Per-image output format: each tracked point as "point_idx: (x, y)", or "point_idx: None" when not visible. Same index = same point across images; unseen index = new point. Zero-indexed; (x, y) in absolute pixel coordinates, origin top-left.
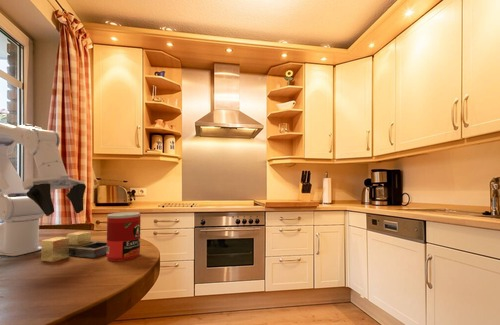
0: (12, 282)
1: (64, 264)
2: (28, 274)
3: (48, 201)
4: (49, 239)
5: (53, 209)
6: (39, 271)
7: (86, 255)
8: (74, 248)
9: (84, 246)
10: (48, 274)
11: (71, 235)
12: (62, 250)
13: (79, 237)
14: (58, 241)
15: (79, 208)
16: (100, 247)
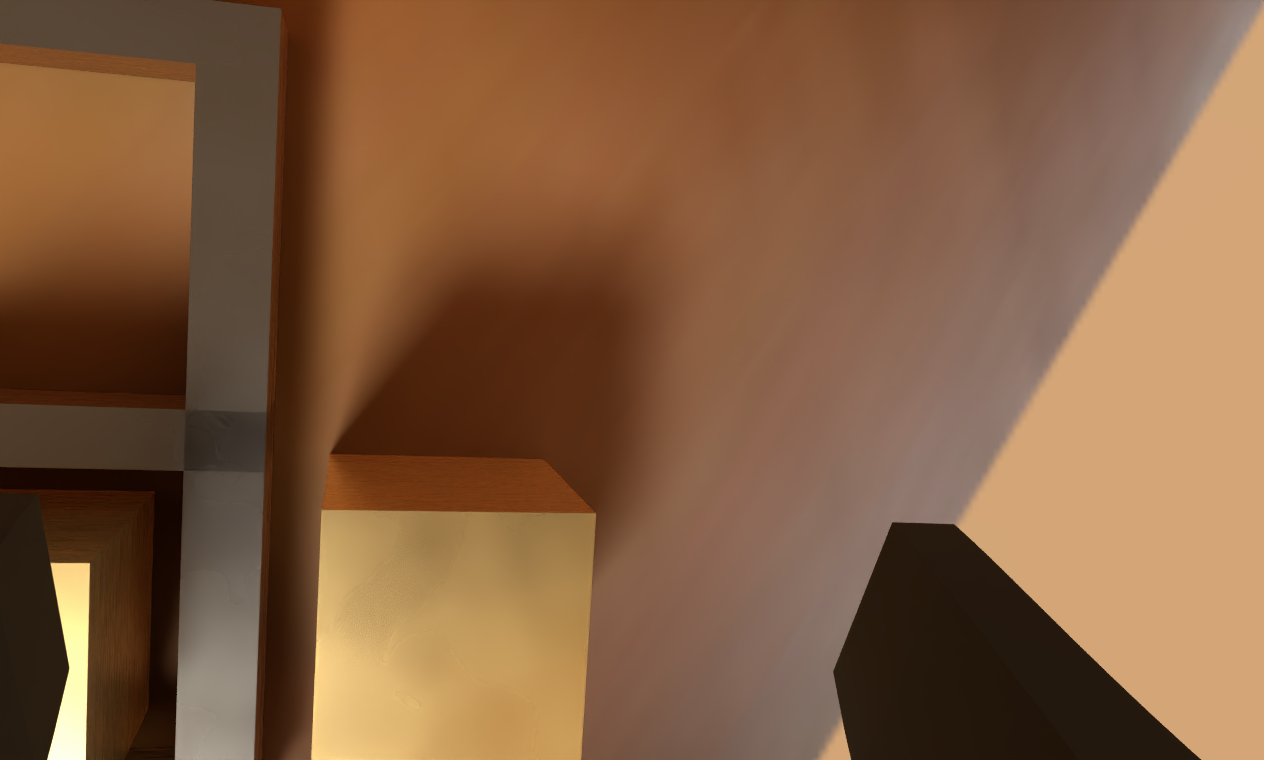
0: (1091, 205)
1: (591, 206)
2: (918, 280)
3: (1160, 728)
4: (507, 709)
5: (937, 549)
6: (832, 258)
7: (280, 177)
8: (265, 428)
9: (94, 405)
10: (882, 67)
11: (93, 717)
12: (426, 474)
13: (62, 549)
14: (505, 510)
15: (24, 595)
16: (109, 36)
